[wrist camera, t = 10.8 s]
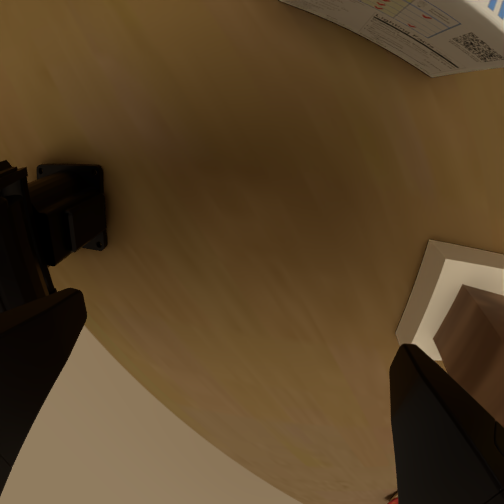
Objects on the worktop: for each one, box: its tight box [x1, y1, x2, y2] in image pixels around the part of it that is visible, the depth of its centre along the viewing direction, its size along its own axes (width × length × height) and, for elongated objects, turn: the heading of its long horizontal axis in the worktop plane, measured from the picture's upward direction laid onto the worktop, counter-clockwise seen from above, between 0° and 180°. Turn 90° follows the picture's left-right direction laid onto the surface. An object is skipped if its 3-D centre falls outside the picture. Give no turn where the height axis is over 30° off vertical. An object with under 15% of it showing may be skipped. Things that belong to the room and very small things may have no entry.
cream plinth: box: [395, 239, 504, 360], centre depth 19 cm, size 8×8×3 cm
